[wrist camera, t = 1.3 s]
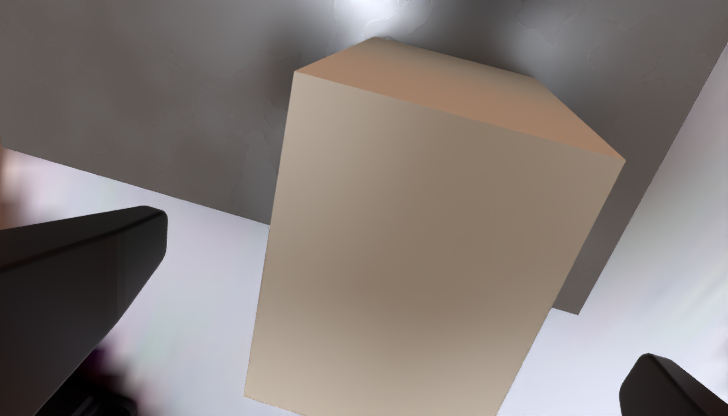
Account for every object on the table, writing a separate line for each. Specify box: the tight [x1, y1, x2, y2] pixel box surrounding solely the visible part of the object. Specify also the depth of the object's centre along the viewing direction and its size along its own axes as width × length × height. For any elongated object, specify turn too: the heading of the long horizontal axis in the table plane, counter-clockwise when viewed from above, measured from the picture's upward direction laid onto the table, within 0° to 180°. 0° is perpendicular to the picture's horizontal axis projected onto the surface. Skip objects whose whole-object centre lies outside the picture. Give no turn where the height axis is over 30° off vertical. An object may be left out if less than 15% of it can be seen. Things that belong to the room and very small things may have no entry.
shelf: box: [0, 0, 728, 315], centre depth 14 cm, size 13×23×3 cm, turn 78°
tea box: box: [243, 36, 626, 416], centre depth 12 cm, size 5×7×8 cm
